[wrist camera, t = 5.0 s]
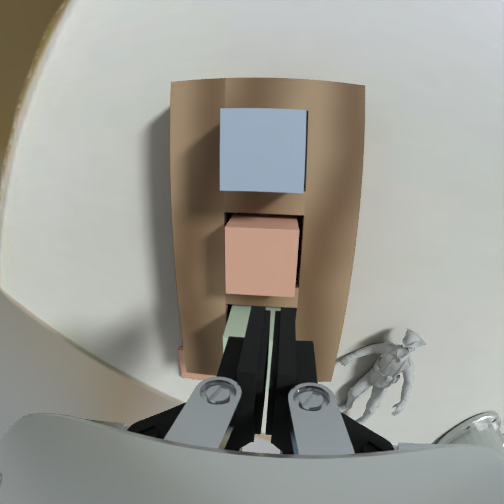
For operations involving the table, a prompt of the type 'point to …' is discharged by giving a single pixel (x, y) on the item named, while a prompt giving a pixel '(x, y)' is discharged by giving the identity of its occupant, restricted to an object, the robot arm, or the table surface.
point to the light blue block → (262, 149)
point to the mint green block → (239, 325)
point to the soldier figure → (384, 373)
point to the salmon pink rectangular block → (261, 254)
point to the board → (265, 210)
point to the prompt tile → (183, 368)
